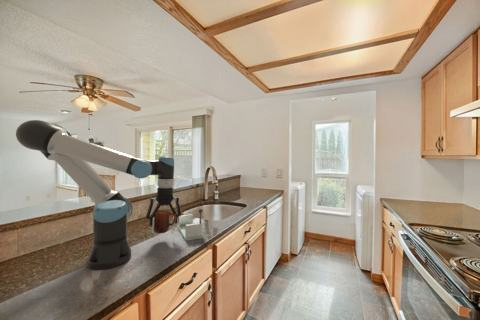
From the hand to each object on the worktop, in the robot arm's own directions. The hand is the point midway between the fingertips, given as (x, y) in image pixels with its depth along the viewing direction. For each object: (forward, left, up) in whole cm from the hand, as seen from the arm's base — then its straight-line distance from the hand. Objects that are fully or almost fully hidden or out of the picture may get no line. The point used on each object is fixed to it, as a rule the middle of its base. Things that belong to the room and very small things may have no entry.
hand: (163, 230), depth 103 cm
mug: (0, 0, -1) cm, 1 cm away
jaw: (+15, +18, -3) cm, 24 cm away
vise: (+15, +6, -5) cm, 17 cm away
